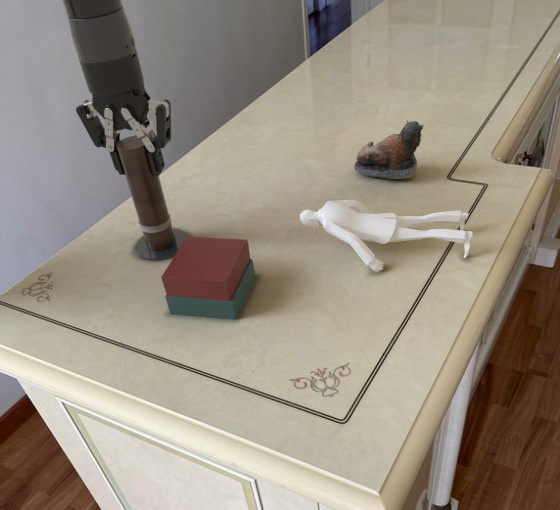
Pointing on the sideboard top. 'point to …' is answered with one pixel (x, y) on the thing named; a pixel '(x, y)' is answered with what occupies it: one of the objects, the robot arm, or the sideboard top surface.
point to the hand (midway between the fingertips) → (141, 172)
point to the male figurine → (381, 227)
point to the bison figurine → (391, 154)
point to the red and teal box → (209, 278)
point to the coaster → (151, 255)
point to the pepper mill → (146, 194)
